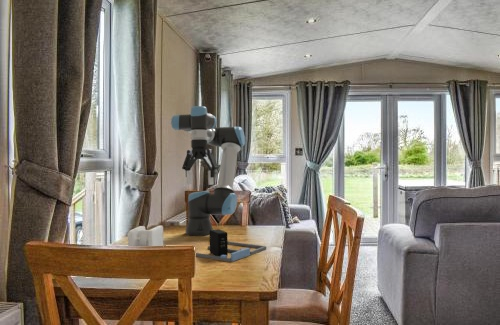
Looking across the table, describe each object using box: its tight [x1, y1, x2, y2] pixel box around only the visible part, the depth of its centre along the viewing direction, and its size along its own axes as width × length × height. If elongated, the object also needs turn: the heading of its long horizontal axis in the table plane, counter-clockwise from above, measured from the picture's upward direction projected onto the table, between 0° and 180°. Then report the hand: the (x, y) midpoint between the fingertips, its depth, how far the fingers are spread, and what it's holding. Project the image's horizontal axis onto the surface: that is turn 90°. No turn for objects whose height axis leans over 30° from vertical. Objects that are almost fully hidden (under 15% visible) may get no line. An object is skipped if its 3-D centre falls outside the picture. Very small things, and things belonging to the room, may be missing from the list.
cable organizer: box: [126, 225, 164, 247], centre depth 165 cm, size 15×11×12 cm
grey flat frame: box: [195, 240, 267, 263], centre depth 168 cm, size 27×23×3 cm
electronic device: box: [209, 228, 229, 257], centre depth 163 cm, size 4×10×10 cm, turn 27°
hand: (199, 184), depth 183 cm, fingers open, 13 cm apart
